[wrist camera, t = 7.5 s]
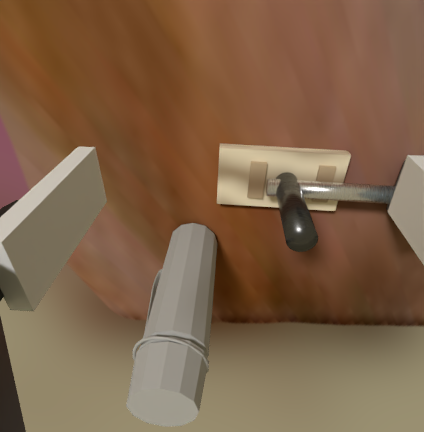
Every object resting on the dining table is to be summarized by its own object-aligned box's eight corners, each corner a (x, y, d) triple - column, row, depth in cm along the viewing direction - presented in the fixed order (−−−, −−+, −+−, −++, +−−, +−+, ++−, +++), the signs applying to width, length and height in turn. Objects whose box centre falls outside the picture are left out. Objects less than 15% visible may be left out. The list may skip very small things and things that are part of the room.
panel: (220, 143, 41) (219, 149, 39) (347, 150, 41) (352, 156, 39) (217, 198, 45) (216, 205, 44) (332, 205, 45) (336, 213, 43)
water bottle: (202, 210, 47) (174, 376, 26) (227, 249, 50) (221, 422, 29) (150, 233, 50) (87, 399, 29) (177, 268, 53) (139, 438, 32)
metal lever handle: (262, 200, 44) (271, 265, 33) (269, 152, 40) (281, 207, 29) (398, 209, 44) (452, 277, 33) (417, 161, 40) (487, 220, 29)
